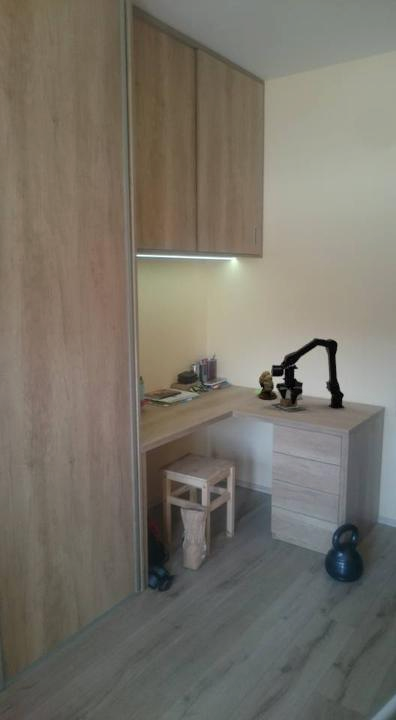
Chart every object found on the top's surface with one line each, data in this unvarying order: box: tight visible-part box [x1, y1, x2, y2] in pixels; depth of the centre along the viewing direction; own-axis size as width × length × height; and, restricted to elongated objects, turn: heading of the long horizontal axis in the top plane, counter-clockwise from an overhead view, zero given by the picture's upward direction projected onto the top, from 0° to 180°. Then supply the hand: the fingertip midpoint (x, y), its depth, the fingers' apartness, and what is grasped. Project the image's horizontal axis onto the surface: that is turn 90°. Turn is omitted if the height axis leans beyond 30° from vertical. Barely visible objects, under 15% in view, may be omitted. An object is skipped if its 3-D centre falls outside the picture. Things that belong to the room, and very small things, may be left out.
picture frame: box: [271, 402, 307, 413], centre depth 305 cm, size 18×12×1 cm, turn 25°
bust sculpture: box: [258, 370, 278, 401], centre depth 329 cm, size 18×12×17 cm, turn 0°
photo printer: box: [286, 379, 303, 400], centre depth 325 cm, size 10×4×12 cm, turn 98°
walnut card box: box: [279, 398, 298, 408], centre depth 305 cm, size 8×6×4 cm
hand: (288, 402), depth 305 cm, fingers open, 9 cm apart
